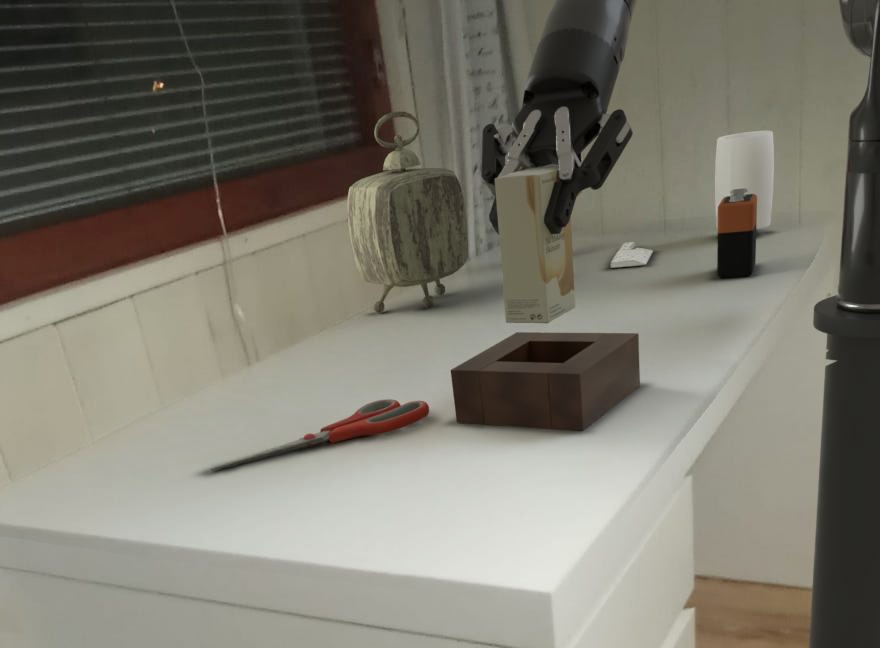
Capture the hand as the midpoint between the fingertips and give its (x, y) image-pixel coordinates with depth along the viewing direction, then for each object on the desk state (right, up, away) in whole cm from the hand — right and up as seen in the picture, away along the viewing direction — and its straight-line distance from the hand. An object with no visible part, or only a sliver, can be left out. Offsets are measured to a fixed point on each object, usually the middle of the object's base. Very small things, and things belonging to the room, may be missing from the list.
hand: (525, 228), depth 85 cm
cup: (+42, +25, +69) cm, 85 cm away
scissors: (-18, -17, +8) cm, 26 cm away
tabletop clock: (-8, +10, +56) cm, 58 cm away
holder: (+3, -13, +9) cm, 16 cm away
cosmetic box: (+2, -6, +5) cm, 8 cm away
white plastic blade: (+25, +21, +66) cm, 73 cm away
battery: (+34, +12, +47) cm, 59 cm away
